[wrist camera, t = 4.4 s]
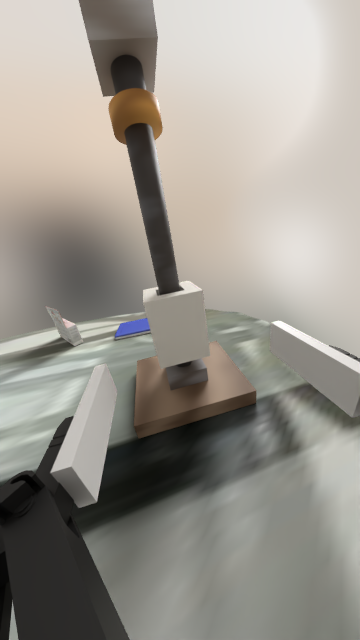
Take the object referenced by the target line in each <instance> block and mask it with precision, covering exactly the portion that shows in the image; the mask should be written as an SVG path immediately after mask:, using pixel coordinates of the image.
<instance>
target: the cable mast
mask: <svg viewBox="0 0 360 640" xmlns="http://www.w3.org/2000/svg"><path fill="white" fill-rule="evenodd" d="M79 3H80V7H81V11H82V16H83V20H84V23H85V28H86V32H87V36H88V40H89V44H90V48H91V52H92V56H93V59H94V63H95V67H96V71H97V75H98V78H99V82H100V86H101V90H102V94H103V96H114V97H113V98H112V100H111V101H110V103H109V114H110V118H111V122H112V126H113V131H114V135H115V137H116V139H117V140H118V141H119V142H121V143H123V144H126V145H127V148H128V153H129V157H130V162H131V167H132V171H133V175H134V180H135V184H136V189H137V194H138V198H139V203H140V208H141V212H142V217H143V221H144V225H145V230H146V235H147V239H148V244H149V249H150V253H151V258H152V262H153V266H154V271H155V276H156V280H157V285H158V290H159V294H160V295H164V294H169V293H174V292H178V291H180V286H179V280H178V274H177V269H176V263H175V257H174V251H173V245H172V240H171V233H170V228H169V221H168V216H167V210H166V204H165V198H164V192H163V186H162V180H161V174H160V168H159V163H158V156H157V151H156V145H155V140H156V139H157V138H158V137H159V136H160V134H161V133H162V122H161V115H160V109H159V103H158V100H157V98H156V96H155V95H154V94H153V92H154V85H155V69H156V55H157V39H158V36H157V29H156V22H155V15H154V8H153V0H79ZM209 348H210V356H208V357H204V358H200V359H197V360H193V361H189V362H185V363H181V364H177V365H174V366H170V367H166V368H162V369H160V365H159V361H158V357H157V356H154V357H150V358H146V359H142V360H138V361H137V377H136V395H135V414H134V428H135V431H136V433H137V436H138V438H142V437H146V436H149V435H152V434H156V433H159V432H162V431H165V430H169V429H172V428H175V427H179V426H182V425H185V424H189V423H192V422H195V421H199V420H202V419H205V418H208V417H212V416H215V415H218V414H222V413H225V412H228V411H232V410H235V409H238V408H242V407H245V406H248V405H251V404H255V403H256V390H255V388H254V387H253V386H252V385H251V383H250V382H249V381H248V380H247V378H246V377H245V376H244V375H243V373H242V372H241V371H240V370H239V368H238V367H237V366H236V365H235V363H234V362H233V361H232V360H231V358H230V357H229V356H228V355H227V353H226V352H225V351H224V350H223V348H222V347H221V346H220V345H219V343H218V342H217V341H214V342H210V343H209Z"/></svg>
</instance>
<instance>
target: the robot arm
mask: <svg viewBox="0 0 360 640" xmlns="http://www.w3.org/2000/svg"><path fill="white" fill-rule="evenodd" d="M270 352H272V353H273V354H274V355H275V356H276V357H278V358H279V359H280V360H281V361H283V362H284V363H285V364H286V365H288V366H289V367H290V368H291V369H293V370H294V371H295V372H296V373H298V374H299V375H300V376H301V377H302V378H304V379H305V380H306V381H307V382H309V383H310V384H311V385H312V386H314V387H315V388H316V389H317V390H319V391H320V392H321V393H322V394H324V395H325V396H326V397H327V398H329V399H330V400H331V401H332V402H333V403H335V404H336V405H337V406H338V407H340V408H341V409H342V410H343V411H345V412H346V413H347V414H348V415H350V416H351V417H352V418H354V417H357V416H360V358H357V357H356V356H354V355H352V354H351V355H350V353H348V352H346V351H344V350H342V349H340V348H336V347H333V346H330V345H329V346H328V345H325V344H324V343H322V342H320V341H318V340H316V339H314V338H312V337H310V336H308V335H307V334H305V333H303V332H301V331H299V330H297V329H295V328H293V327H291V326H289V325H287V324H285V323H283V322H281V321H280V320H279V321H275V322H272V323H271V334H270ZM117 392H118V391H117V389H116V386H115V384H114V382H113V379H112V377H111V374H110V372H109V369H108V367H107V365H106V363H105V364H101V365H97V366H95V368H94V370H93V372H92V375H91V377H90V380H89V382H88V384H87V387H86V389H85V391H84V394H83V396H82V399H81V401H80V403H79V406H78V408H77V411H76V413H75V415H74V416H72V417H68V418H65V420H64V421H63V422H62V423H61V424H60V426H59V427H58V428H57V430H56V432H55V434H54V436H53V440H51V442H50V445H49V448H48V449H47V451H46V453H45V455H44V457H43V459H42V461H41V463H40V465H39V467H38V469H37V471H36V473H34V472H33V471H24V472H21V473H18V474H17V475H15V476H14V477H12V478H11V479H10V480H8V481H7V482H6V483H5V484H4V485H3V486H2V487H1V488H0V640H9V631H10V620H11V610H12V599H13V606H14V612H15V619H16V626H17V632H18V639H19V640H130V639H129V637H128V635H127V633H126V631H125V629H124V626H123V624H122V622H121V620H120V618H119V616H118V613H117V611H116V609H115V607H114V605H113V603H112V600H111V598H110V596H109V594H108V592H107V590H106V587H105V585H104V583H103V581H102V579H101V577H100V574H99V572H98V570H97V568H96V566H95V564H94V561H93V559H92V557H91V555H90V553H89V551H88V548H87V546H86V544H85V542H84V540H83V538H82V535H81V533H80V531H79V529H78V527H77V525H76V522H75V520H74V518H73V516H72V515H71V510H72V506H73V503H74V502H75V504H76V505H77V506H78V507H79V508H81V507H84V506H87V505H90V504H93V503H96V502H97V499H98V494H99V488H100V483H101V478H102V472H103V467H104V461H105V456H106V451H107V445H108V440H109V435H110V429H111V424H112V419H113V413H114V408H115V403H116V397H117Z"/></svg>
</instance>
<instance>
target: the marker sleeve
mask: <svg viewBox="0 0 360 640" xmlns="http://www.w3.org/2000/svg"><path fill="white" fill-rule="evenodd" d="M179 286H180V291H178V292H174V293H169V294H164V295H160V294H159V290H158V287H155V288H150V289H146V290H143V304H144V308H145V312H146V315H147V319H148V323H149V327H150V331H151V334H152V338H153V342H154V346H155V350H156V353H157V357H158V361H159V365H160V369H162V368H166V367H170V366H174V365H177V364H181V363H185V362H189V361H193V360H197V359H200V358H204V357H208V356H210V348H209V339H208V331H207V322H206V314H205V305H204V297H203V290H202V289H200V288H199V287H197V286H196V285H195V284H193V283H192V282H190V281H184V282H180V283H179Z"/></svg>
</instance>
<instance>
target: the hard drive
mask: <svg viewBox="0 0 360 640" xmlns="http://www.w3.org/2000/svg"><path fill="white" fill-rule="evenodd" d="M146 333H151V331H150V327H149V323H148V319H147V318H145V319H140V320H136V321H131V322H126V323H121V324H120V326H119V328H118V330H117V332H116V335H115V339H116V340H117V339H122V338H127V337H131V336H136V335H141V334H146Z"/></svg>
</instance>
